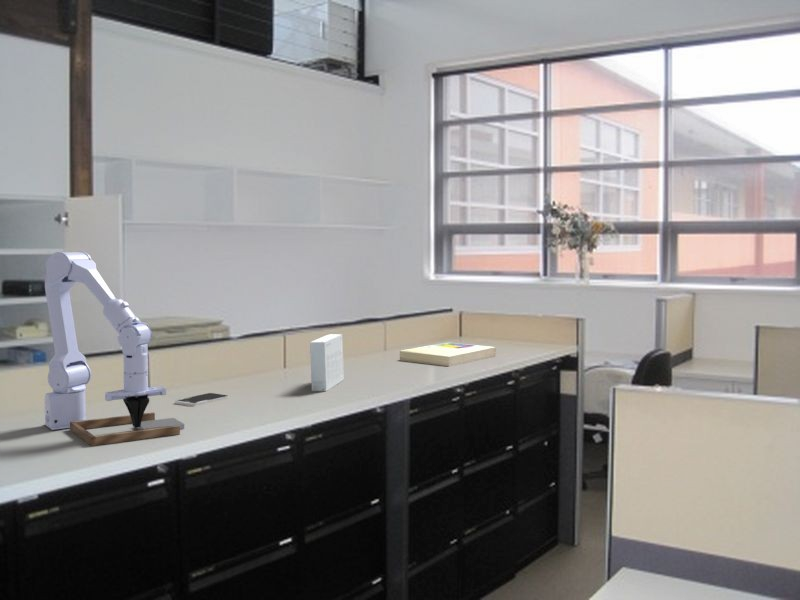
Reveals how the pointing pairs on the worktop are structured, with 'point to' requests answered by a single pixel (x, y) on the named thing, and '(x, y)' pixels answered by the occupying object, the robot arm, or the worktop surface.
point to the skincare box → (326, 362)
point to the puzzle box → (447, 354)
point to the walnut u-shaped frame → (92, 440)
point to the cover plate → (160, 424)
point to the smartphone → (201, 399)
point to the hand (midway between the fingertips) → (136, 426)
